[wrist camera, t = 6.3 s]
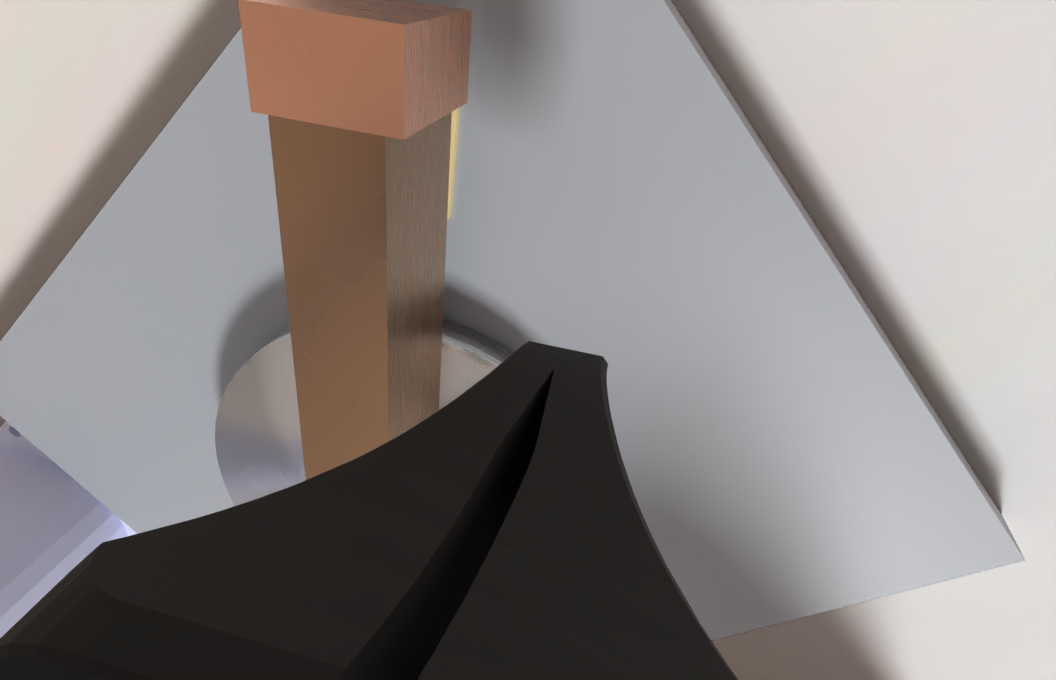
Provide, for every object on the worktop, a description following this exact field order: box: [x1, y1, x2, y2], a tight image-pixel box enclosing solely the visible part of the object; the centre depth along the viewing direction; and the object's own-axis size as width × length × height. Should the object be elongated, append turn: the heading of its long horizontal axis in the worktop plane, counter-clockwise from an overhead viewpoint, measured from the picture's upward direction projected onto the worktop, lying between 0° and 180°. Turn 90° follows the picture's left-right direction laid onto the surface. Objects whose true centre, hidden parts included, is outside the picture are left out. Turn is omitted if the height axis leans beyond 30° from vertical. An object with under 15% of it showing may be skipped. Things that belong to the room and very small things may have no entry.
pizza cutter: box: [215, 0, 514, 506], centre depth 16 cm, size 19×12×4 cm, turn 174°
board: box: [0, 0, 1025, 641], centre depth 20 cm, size 26×21×2 cm
